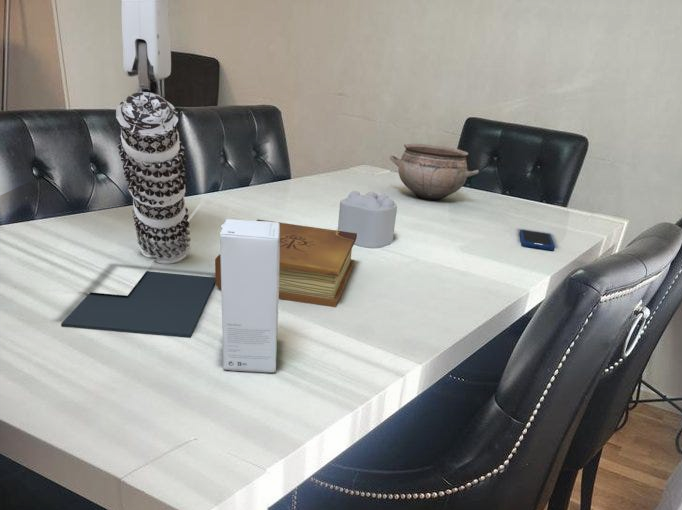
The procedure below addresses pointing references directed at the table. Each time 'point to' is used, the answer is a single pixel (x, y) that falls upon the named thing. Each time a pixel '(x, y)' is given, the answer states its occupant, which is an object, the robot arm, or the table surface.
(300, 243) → the diary
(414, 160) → the cooking pot
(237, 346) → the cosmetic box
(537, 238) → the cell phone
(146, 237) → the decorative tower
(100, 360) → the table surface
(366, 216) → the lumpy-topped squat cylinder
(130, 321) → the mat
